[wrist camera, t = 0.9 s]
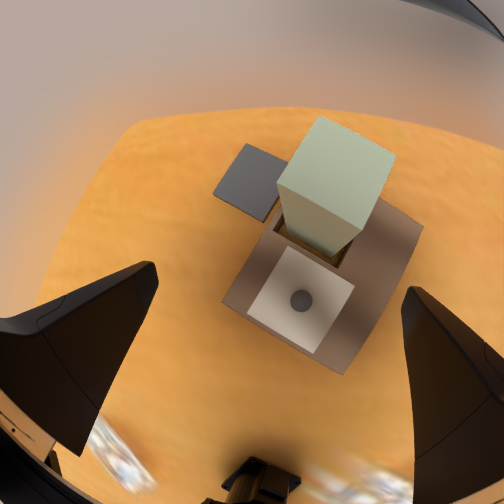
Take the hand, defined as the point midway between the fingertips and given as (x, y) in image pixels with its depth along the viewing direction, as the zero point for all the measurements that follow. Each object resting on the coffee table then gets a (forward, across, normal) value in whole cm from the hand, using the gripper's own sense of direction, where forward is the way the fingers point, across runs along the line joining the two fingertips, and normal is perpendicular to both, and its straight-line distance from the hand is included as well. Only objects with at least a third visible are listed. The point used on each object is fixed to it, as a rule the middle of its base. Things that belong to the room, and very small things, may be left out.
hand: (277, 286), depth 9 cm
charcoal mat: (+17, +4, +1) cm, 18 cm away
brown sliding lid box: (+13, -3, +7) cm, 15 cm away
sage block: (+15, -2, +4) cm, 16 cm away
